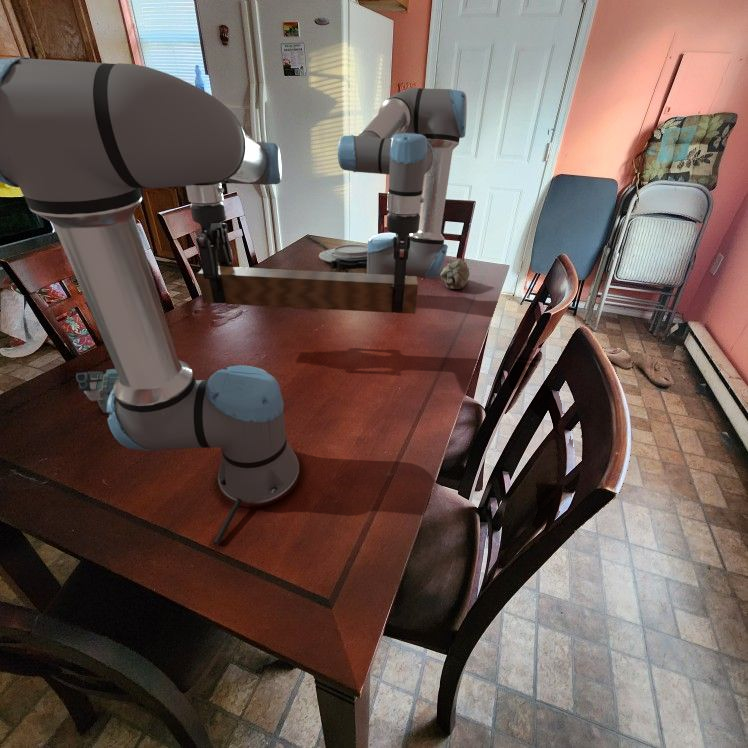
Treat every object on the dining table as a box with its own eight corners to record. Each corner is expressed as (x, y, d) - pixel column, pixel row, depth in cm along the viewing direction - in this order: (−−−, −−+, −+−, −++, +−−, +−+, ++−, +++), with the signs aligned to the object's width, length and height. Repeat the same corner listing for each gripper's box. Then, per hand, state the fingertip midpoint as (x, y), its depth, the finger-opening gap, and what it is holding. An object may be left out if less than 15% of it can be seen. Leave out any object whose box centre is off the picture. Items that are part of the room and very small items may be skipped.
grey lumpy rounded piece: (475, 286, 167) (468, 286, 154) (448, 291, 172) (439, 292, 158) (471, 258, 166) (464, 256, 152) (444, 264, 170) (435, 262, 157)
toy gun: (76, 419, 83) (69, 370, 83) (112, 410, 101) (106, 369, 101) (97, 416, 84) (90, 367, 83) (128, 408, 102) (123, 368, 102)
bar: (203, 302, 105) (196, 273, 101) (211, 293, 110) (205, 265, 105) (415, 313, 105) (418, 284, 100) (414, 304, 109) (417, 276, 105)
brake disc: (396, 269, 174) (397, 258, 172) (327, 274, 167) (326, 262, 164) (375, 246, 200) (375, 236, 197) (313, 250, 192) (313, 239, 189)
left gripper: (207, 213, 86) (225, 313, 99) (236, 195, 102) (249, 284, 115) (172, 211, 86) (195, 312, 99) (206, 193, 102) (222, 282, 115)
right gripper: (422, 225, 85) (412, 324, 99) (418, 203, 101) (410, 292, 114) (386, 223, 86) (381, 322, 99) (388, 202, 101) (383, 290, 114)
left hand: (223, 296), depth 107 cm, fingers closed on bar, 6 cm apart
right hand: (396, 306), depth 107 cm, fingers closed on bar, 6 cm apart
